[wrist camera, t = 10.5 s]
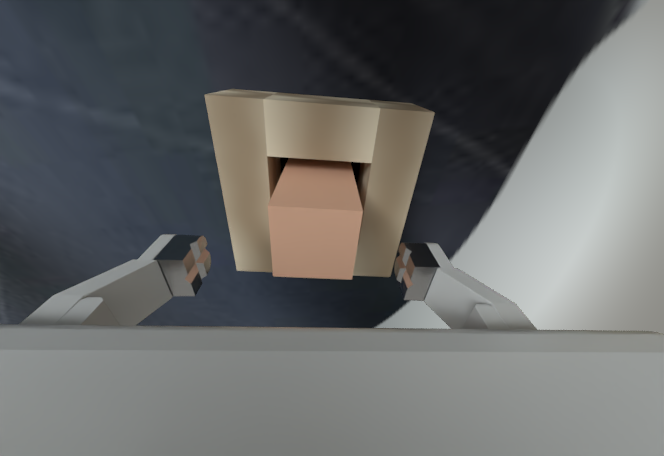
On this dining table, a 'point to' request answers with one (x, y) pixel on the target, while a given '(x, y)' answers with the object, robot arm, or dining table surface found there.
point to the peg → (315, 220)
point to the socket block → (321, 144)
